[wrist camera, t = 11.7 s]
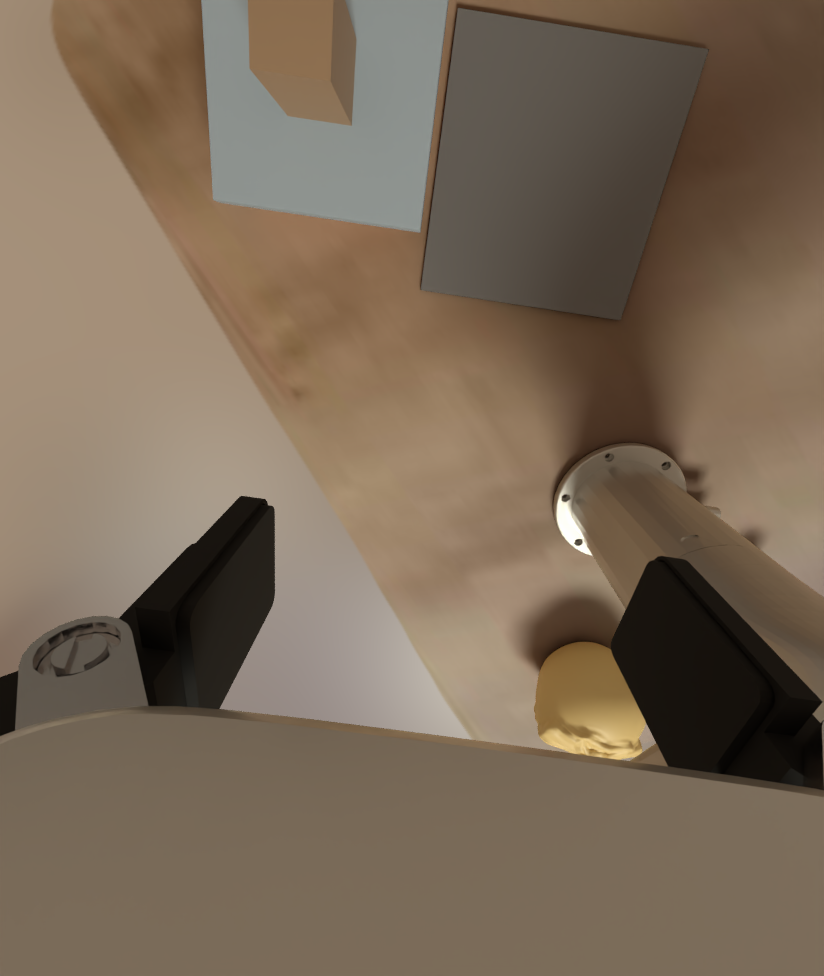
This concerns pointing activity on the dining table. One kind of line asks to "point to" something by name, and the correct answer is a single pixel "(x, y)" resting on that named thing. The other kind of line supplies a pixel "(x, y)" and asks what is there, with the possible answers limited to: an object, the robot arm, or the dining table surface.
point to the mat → (553, 161)
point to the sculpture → (587, 704)
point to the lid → (323, 105)
